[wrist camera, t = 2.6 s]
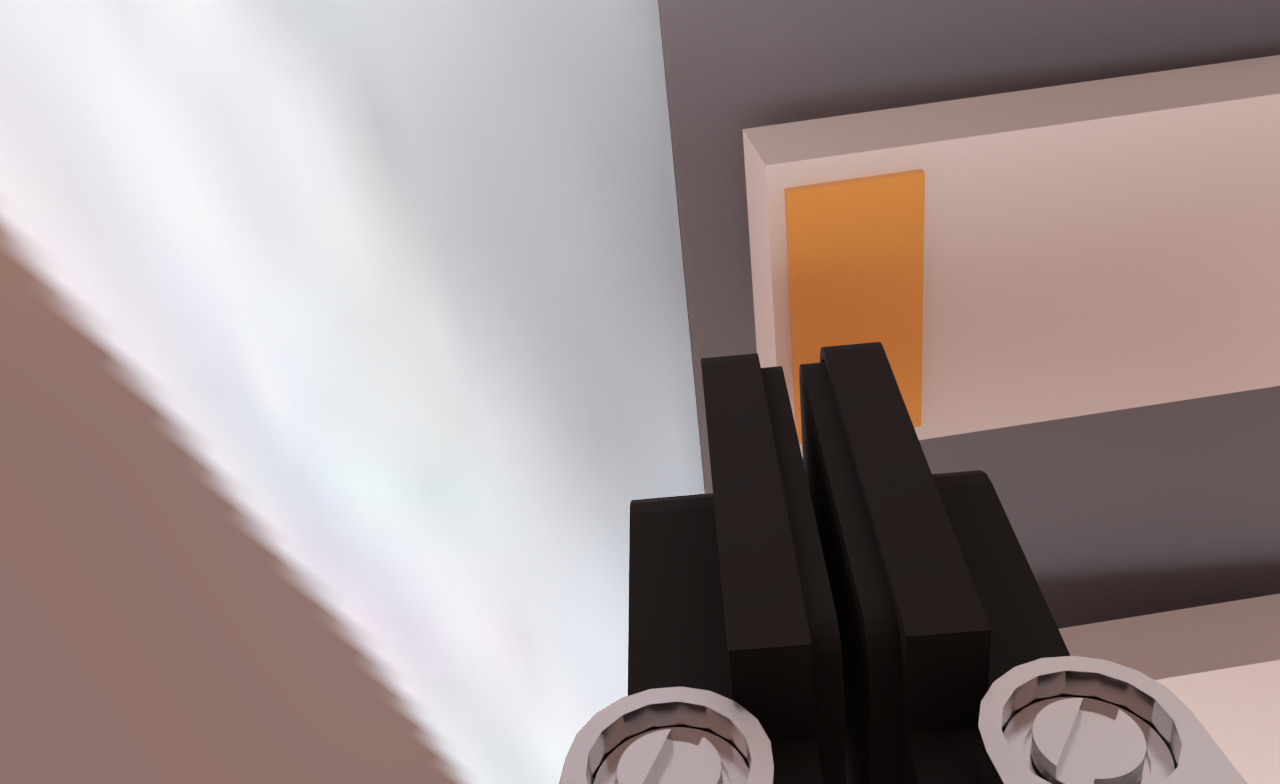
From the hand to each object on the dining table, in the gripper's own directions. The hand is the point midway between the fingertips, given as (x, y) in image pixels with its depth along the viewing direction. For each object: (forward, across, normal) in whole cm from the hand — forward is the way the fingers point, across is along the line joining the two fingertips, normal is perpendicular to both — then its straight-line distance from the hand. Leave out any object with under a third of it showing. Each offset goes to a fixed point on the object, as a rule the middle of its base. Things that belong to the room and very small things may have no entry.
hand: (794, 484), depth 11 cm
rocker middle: (+5, -5, 0) cm, 7 cm away
